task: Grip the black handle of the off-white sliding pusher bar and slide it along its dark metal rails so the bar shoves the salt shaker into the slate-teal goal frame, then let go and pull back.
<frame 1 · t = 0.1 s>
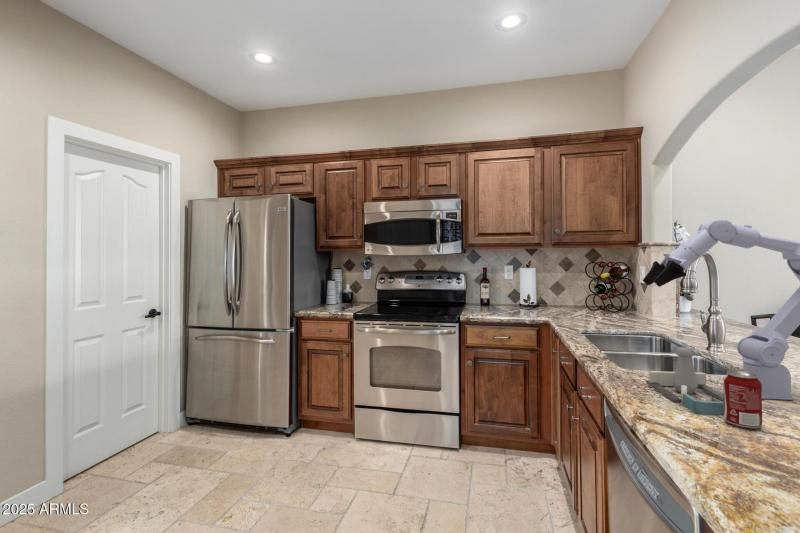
hand: (650, 283, 115), 32 cm above the worktop, tool tilted 50°, fingers open, 7 cm apart
soda can: (742, 425, 91), on the worktop
rails: (688, 393, 112), on the worktop
goal frame: (714, 409, 100), on the worktop
salt shaker: (685, 392, 114), on the worktop
pusher bar: (671, 369, 122), point 4 cm above the worktop, slide at 0.0 cm
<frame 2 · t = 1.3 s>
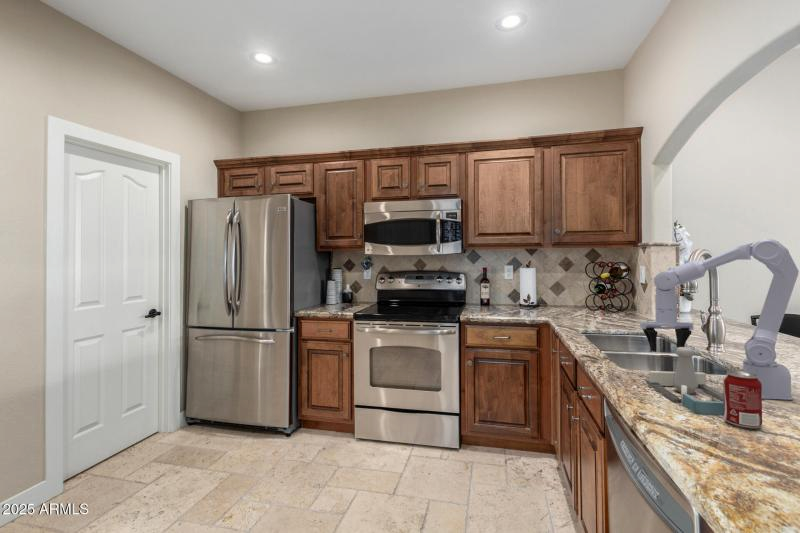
hand: (666, 351, 124), 9 cm above the worktop, tool pointing down, fingers open, 7 cm apart
nothing on the worktop moved.
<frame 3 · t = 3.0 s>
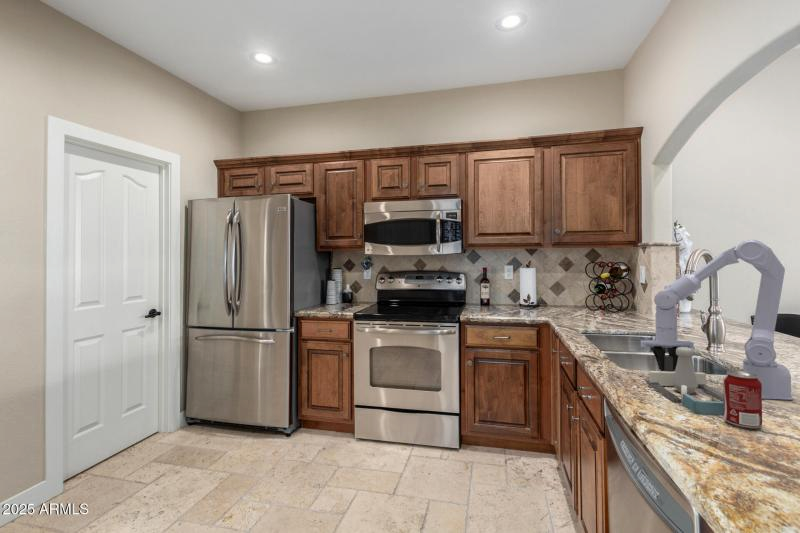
hand: (666, 370, 124), 3 cm above the worktop, tool pointing down, fingers closed on pusher bar, 2 cm apart
pusher bar: (671, 369, 122), point 4 cm above the worktop, slide at 0.0 cm, touching gripper
everything else where it was.
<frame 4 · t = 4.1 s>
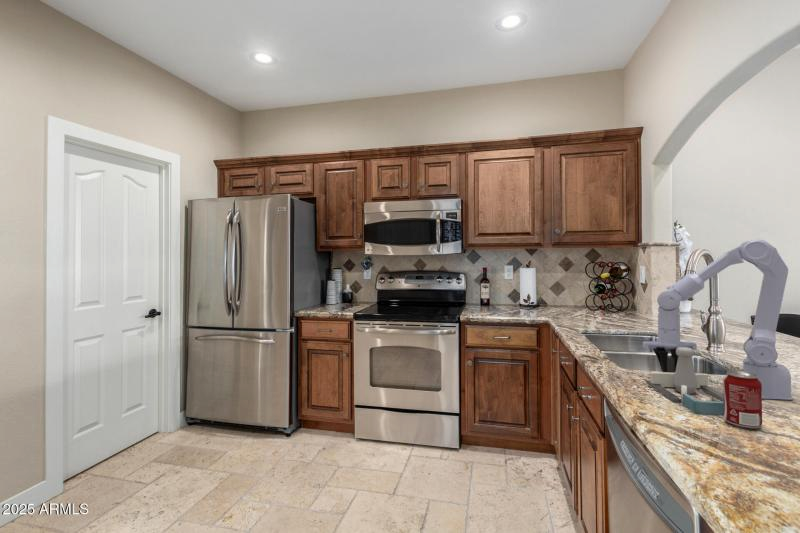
hand: (669, 371, 123), 3 cm above the worktop, tool pointing down, fingers closed on pusher bar, 2 cm apart
salt shaker: (685, 392, 114), on the worktop, touching pusher bar
pusher bar: (672, 370, 121), point 4 cm above the worktop, slide at 1.1 cm, touching gripper, salt shaker
everything else where it was.
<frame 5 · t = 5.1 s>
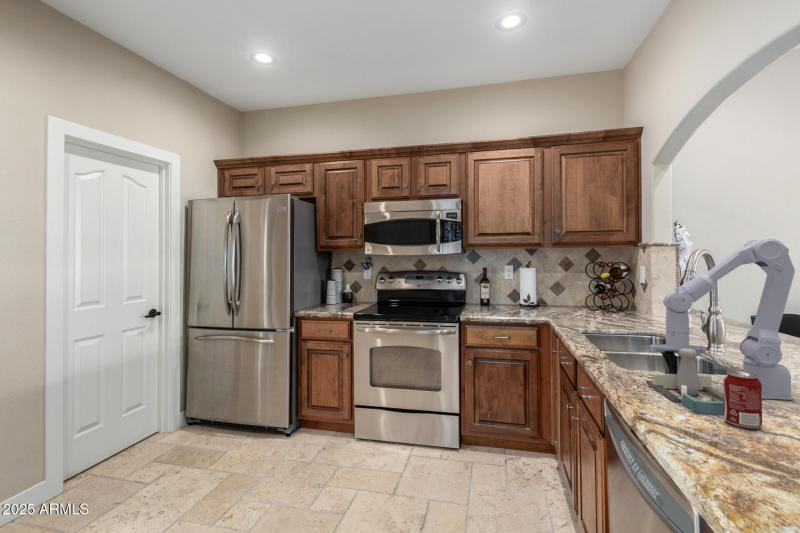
hand: (678, 376, 118), 3 cm above the worktop, tool pointing down, fingers closed on pusher bar, 2 cm apart
salt shaker: (688, 394, 112), on the worktop
pusher bar: (675, 372, 119), point 4 cm above the worktop, slide at 2.6 cm, touching gripper
everything else where it was.
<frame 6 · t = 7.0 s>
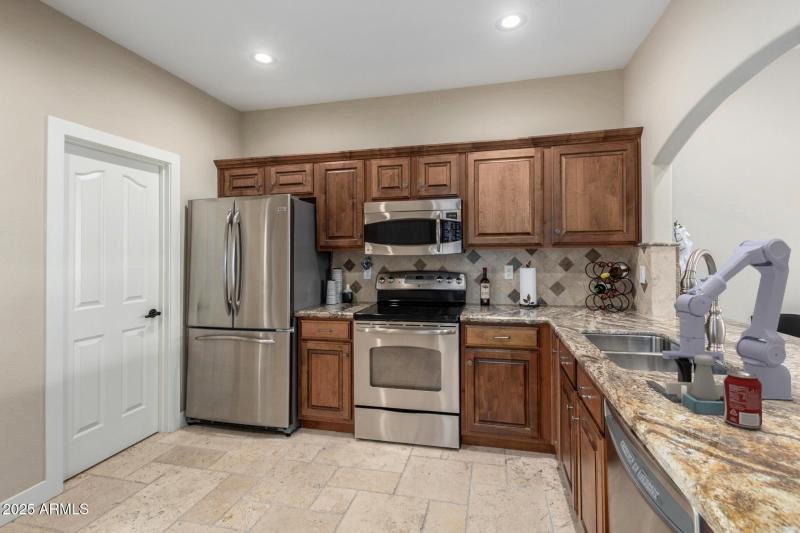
hand: (692, 384, 110), 3 cm above the worktop, tool pointing down, fingers closed on pusher bar, 2 cm apart
salt shaker: (704, 404, 104), on the worktop, touching pusher bar
pusher bar: (689, 380, 111), point 4 cm above the worktop, slide at 10.7 cm, touching gripper, salt shaker
everything else where it was.
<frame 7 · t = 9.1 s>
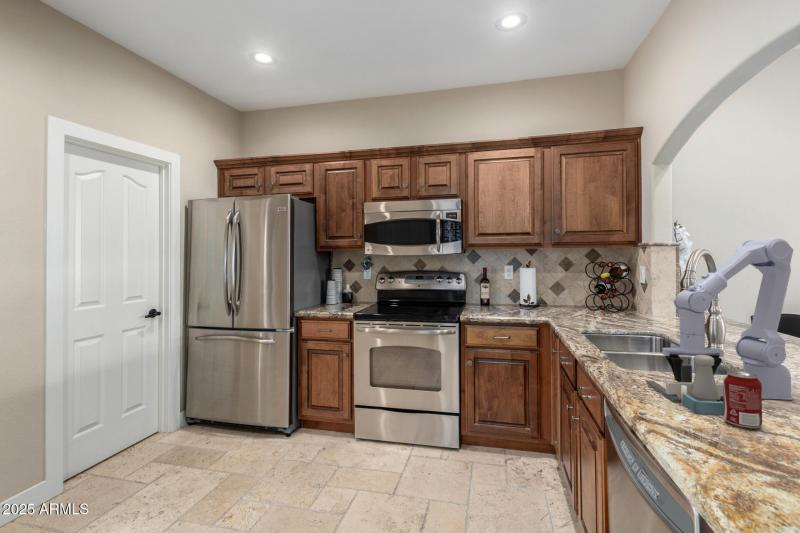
hand: (692, 381, 110), 4 cm above the worktop, tool pointing down, fingers open, 7 cm apart
salt shaker: (704, 404, 104), on the worktop
pusher bar: (690, 380, 111), point 4 cm above the worktop, slide at 10.8 cm
everything else where it was.
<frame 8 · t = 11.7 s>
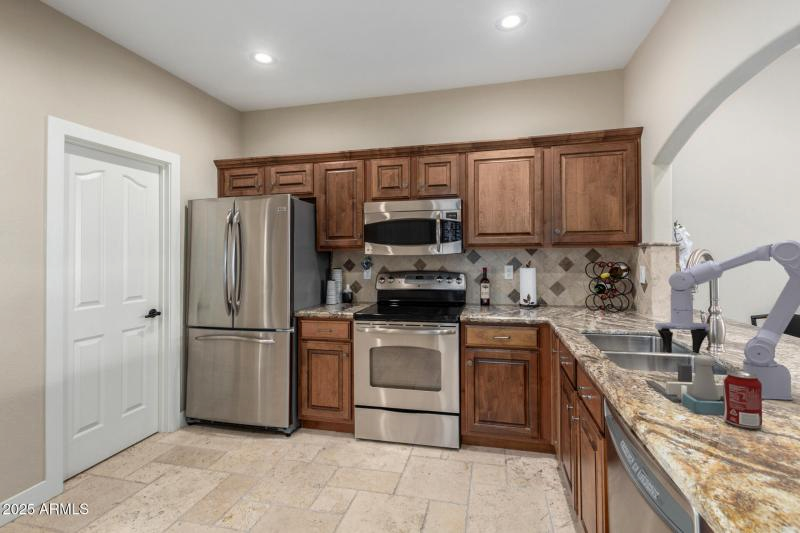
hand: (682, 352, 123), 9 cm above the worktop, tool pointing down, fingers open, 7 cm apart
nothing on the worktop moved.
at the end: salt shaker inside the target area (2.7 cm from its centre), on the worktop; salt shaker tilted 0°; pusher bar slide at 10.8 cm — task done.
